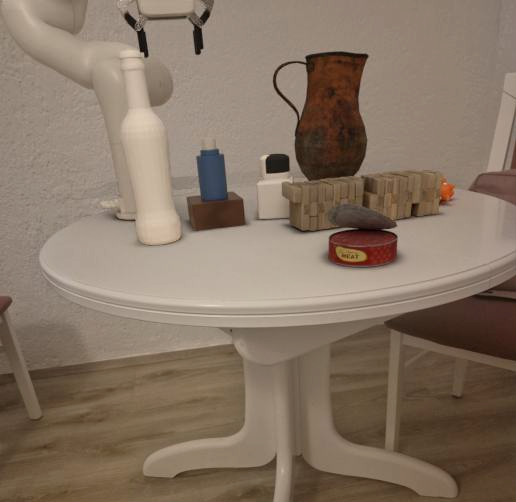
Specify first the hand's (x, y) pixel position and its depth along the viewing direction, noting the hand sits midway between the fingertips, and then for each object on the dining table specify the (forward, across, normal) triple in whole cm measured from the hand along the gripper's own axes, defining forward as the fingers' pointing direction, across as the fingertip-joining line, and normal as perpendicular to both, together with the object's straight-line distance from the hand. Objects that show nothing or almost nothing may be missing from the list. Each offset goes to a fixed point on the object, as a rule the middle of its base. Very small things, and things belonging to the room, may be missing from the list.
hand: (172, 55), depth 90 cm
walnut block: (+30, -4, +6) cm, 31 cm away
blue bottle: (+25, -4, +6) cm, 26 cm away
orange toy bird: (+31, -51, +11) cm, 60 cm away
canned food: (+31, -20, +41) cm, 55 cm away
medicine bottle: (+31, -17, +6) cm, 35 cm away
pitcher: (+31, -33, -10) cm, 46 cm away
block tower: (+31, -30, +19) cm, 47 cm away
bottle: (+31, +8, +15) cm, 35 cm away
